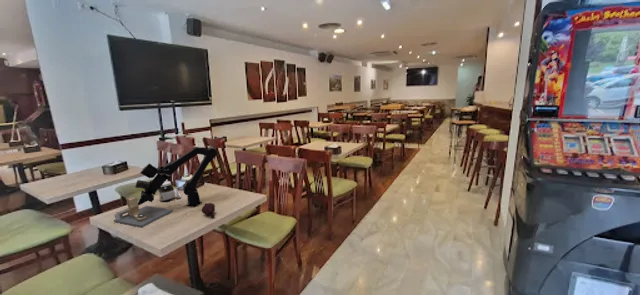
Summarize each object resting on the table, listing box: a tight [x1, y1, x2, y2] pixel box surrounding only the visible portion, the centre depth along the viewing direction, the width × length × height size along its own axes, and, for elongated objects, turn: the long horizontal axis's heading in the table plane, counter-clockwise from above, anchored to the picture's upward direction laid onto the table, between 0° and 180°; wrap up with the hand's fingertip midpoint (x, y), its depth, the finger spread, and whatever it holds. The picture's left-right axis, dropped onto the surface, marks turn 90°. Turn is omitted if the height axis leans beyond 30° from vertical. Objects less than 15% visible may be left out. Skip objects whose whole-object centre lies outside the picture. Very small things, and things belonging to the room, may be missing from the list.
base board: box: [113, 205, 174, 229], centre depth 150 cm, size 22×19×1 cm
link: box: [125, 195, 146, 221], centre depth 146 cm, size 16×4×10 cm, turn 55°
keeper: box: [113, 207, 145, 220], centre depth 147 cm, size 14×16×4 cm
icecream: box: [200, 202, 216, 219], centre depth 150 cm, size 7×7×15 cm
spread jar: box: [157, 180, 182, 203], centre depth 173 cm, size 12×11×12 cm
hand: (137, 204), depth 149 cm, fingers closed
